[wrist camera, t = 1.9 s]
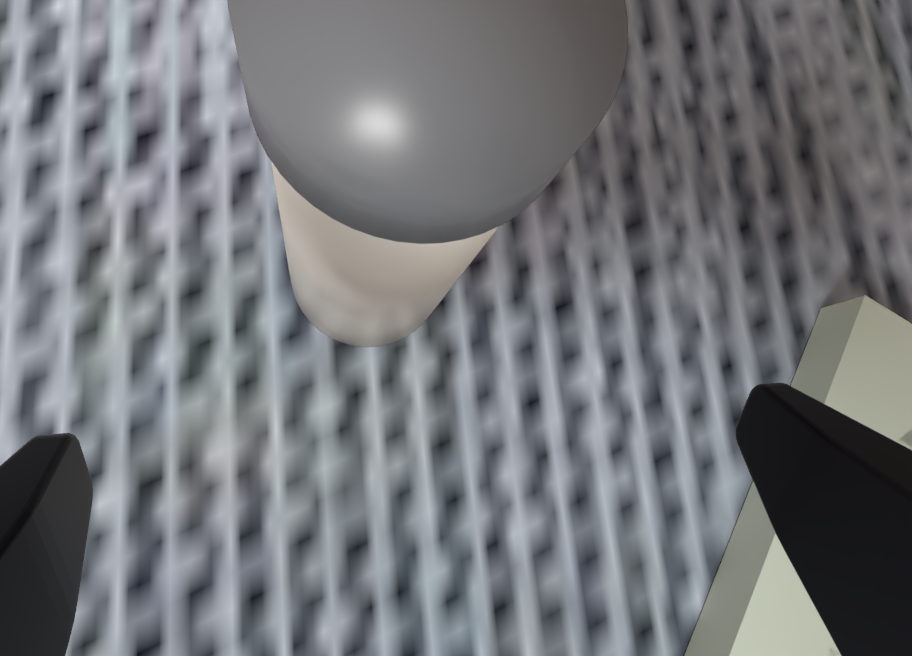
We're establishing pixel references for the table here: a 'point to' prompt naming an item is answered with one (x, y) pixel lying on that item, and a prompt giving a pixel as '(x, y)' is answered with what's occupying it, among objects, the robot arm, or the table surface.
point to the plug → (414, 136)
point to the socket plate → (754, 540)
